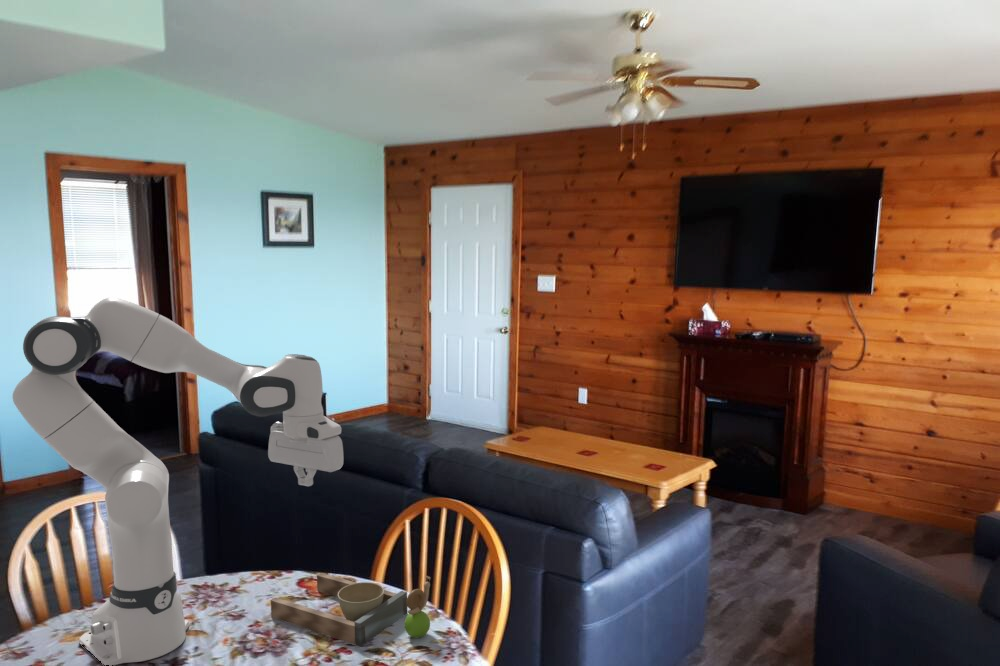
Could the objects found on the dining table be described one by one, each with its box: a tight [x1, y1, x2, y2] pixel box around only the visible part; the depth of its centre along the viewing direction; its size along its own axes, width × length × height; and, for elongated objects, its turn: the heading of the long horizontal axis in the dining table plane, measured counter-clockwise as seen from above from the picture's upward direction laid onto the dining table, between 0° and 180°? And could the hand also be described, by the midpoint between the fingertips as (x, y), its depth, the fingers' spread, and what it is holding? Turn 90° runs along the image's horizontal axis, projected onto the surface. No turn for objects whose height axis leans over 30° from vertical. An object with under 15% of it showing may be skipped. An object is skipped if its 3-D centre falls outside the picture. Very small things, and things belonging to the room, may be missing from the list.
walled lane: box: [270, 572, 408, 647], centre depth 159 cm, size 26×16×5 cm, turn 61°
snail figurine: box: [404, 575, 431, 639], centre depth 150 cm, size 5×6×12 cm
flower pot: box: [337, 581, 385, 622], centre depth 156 cm, size 10×10×7 cm
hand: (305, 485), depth 161 cm, fingers closed
